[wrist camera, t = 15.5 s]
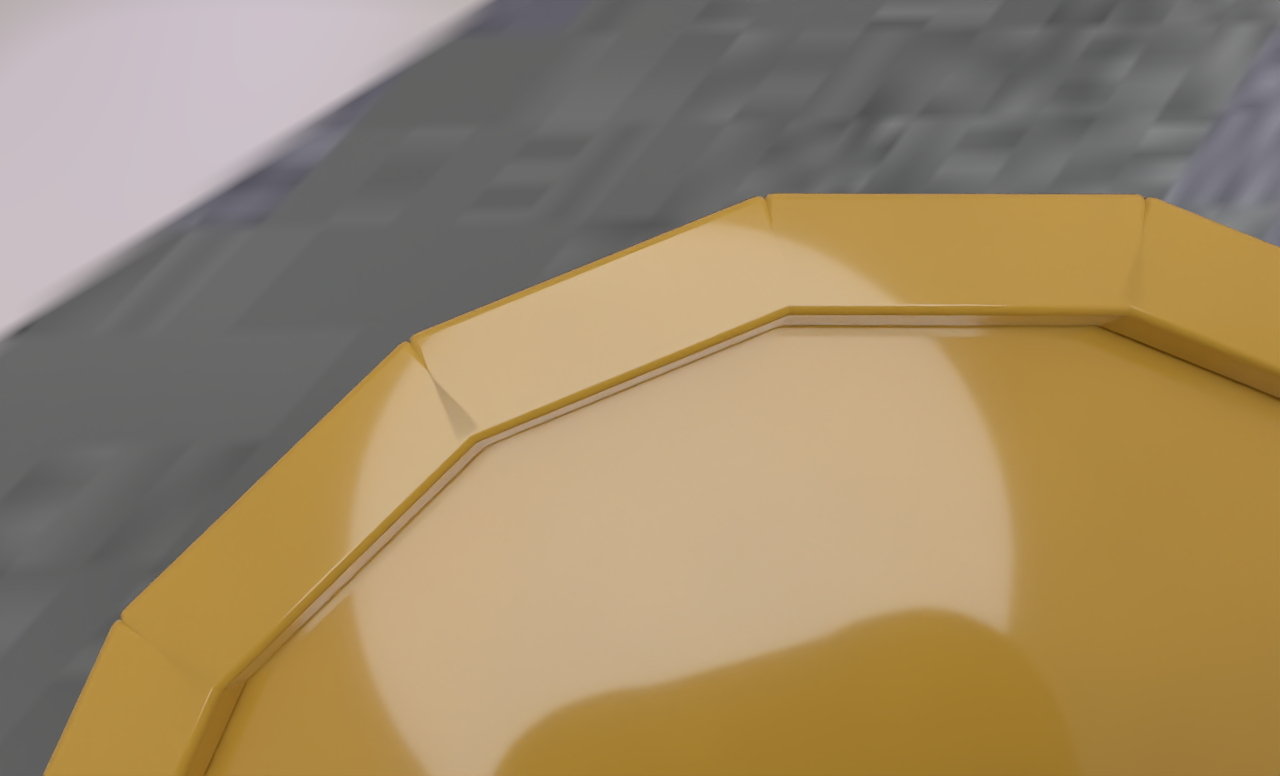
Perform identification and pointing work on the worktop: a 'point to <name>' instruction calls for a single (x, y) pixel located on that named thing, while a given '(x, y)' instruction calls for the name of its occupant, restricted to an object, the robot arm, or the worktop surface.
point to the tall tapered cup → (762, 519)
